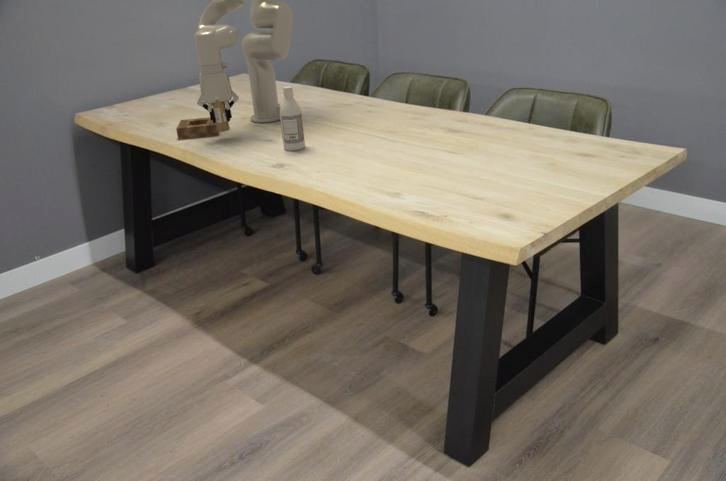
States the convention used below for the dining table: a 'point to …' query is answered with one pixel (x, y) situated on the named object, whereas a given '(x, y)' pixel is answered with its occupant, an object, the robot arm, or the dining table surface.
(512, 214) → the dining table surface
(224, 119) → the sprinkles bottle
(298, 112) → the bath foam
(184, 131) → the socket board
